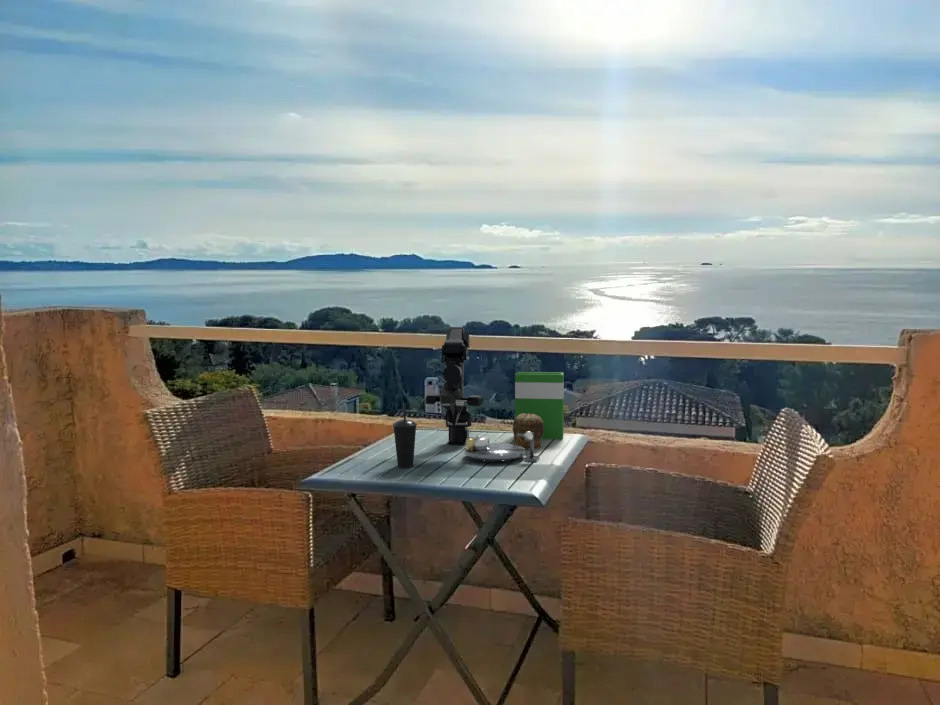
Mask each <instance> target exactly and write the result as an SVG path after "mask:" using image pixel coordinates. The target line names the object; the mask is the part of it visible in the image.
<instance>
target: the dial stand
mask: <svg viewBox="0 0 940 705" xmlns="http://www.w3.org/2000/svg"><path fill="white" fill-rule="evenodd" d="M517 436H519V437H524V439H525V440H526V441H530V449H529V454H527V455H526V456H525V457H524V459H523V462H526V461H532V462H531V463H537V462H539V460H540V455H535V449H534V433H533V432H530V431H527V432H525V433H524V434H517Z"/></svg>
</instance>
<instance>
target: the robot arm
mask: <svg viewBox="0 0 940 705" xmlns="http://www.w3.org/2000/svg"><path fill="white" fill-rule="evenodd" d="M445 336H446V338H445V340H444V342H443V344H442V345H441V356H440V357H441V360H440V361H441V364H445V365H444V367H445V368H444V370H443V371H442V378H443V380H444V385H443V389H441V392H440V393H430V394H427V395H426V396H425V398H424V404H426V405H435V403H438V402H439V403H440V404H441V405H440V406H441V407H442V408H444V409H445V427H446V428H448V441H447V442H446V444H447V445H448V444H449V445H466V439H468V438H469V437H470V430H469V429H468V428H470V427H472V413H471V412H470V410H469V409H468V406H469V407H480V406H481V405H483V404H484V397H483V396H482V395H479V394H477V395H475V394H471V395H469V396H468V397H467V396H466V397H465V396H464V367H465V366H464V363H466V361H467V358H468V357H467V356H468V354H469V349H470V346H471V341H470V340H471V339H470V334H469V333H468V332H467V331H466V330H465V328H464V327H462V326H452V327H449V331H448V332H447V333H446V335H445Z"/></svg>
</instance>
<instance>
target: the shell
mask: <svg viewBox="0 0 940 705" xmlns="http://www.w3.org/2000/svg"><path fill="white" fill-rule="evenodd" d="M527 431H530V432H533V433H534V448H535V449H538V448H541V443H542V439H541V438H542V435H543V433H544V423H543V420H542V419H541V417H539V416H538V415H535V414H529V413H528V414H525V413H522V414H520V415H518V416H517V417H516V418H515V417H514V420H513V424H512V433H513V440H514V441H513V442H514V445H517V446H521V447H523V448H525V450H530V441H526V440H525V439H524V437H519V436H517V434H524V433H525V432H527Z"/></svg>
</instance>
